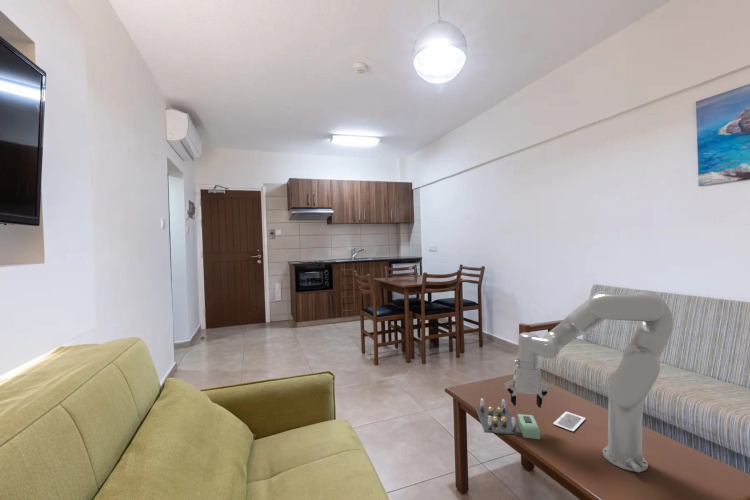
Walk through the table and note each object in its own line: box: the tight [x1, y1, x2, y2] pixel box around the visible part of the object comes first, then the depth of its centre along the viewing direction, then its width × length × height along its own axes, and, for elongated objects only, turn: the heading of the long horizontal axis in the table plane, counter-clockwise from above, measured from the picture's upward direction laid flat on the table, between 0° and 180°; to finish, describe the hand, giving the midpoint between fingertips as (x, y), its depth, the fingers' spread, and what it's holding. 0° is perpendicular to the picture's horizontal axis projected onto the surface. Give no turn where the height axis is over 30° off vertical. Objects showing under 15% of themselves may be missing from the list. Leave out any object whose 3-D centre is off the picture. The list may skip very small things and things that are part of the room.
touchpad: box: [552, 411, 586, 432], centre depth 141 cm, size 8×15×2 cm, turn 131°
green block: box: [517, 413, 541, 440], centre depth 135 cm, size 12×6×4 cm, turn 167°
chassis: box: [476, 397, 522, 435], centre depth 141 cm, size 18×14×6 cm
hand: (526, 405), depth 135 cm, fingers open, 9 cm apart
